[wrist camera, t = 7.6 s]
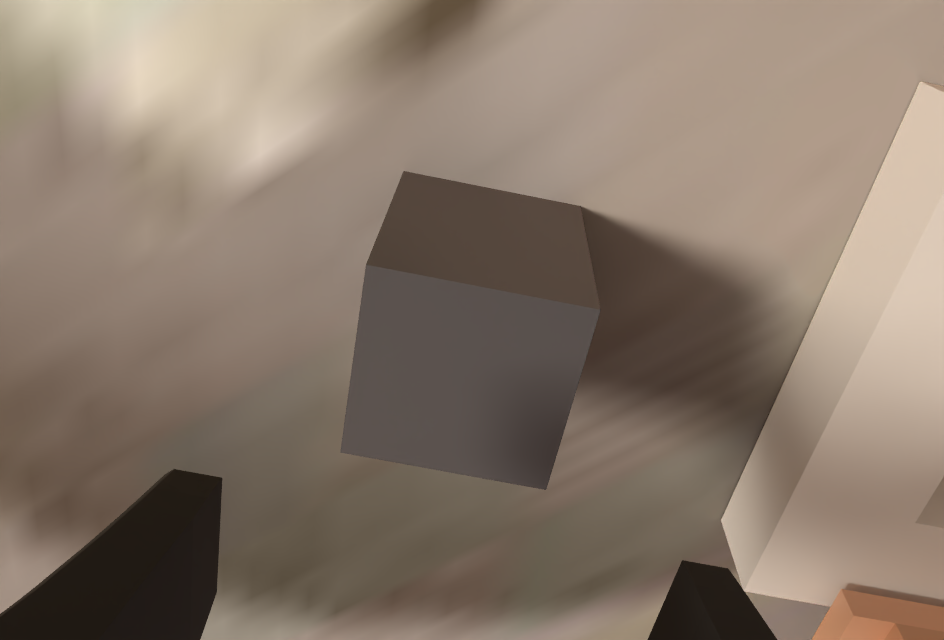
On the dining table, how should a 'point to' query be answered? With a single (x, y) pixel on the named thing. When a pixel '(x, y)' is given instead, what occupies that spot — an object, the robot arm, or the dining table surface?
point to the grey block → (471, 332)
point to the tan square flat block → (880, 619)
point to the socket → (862, 406)
